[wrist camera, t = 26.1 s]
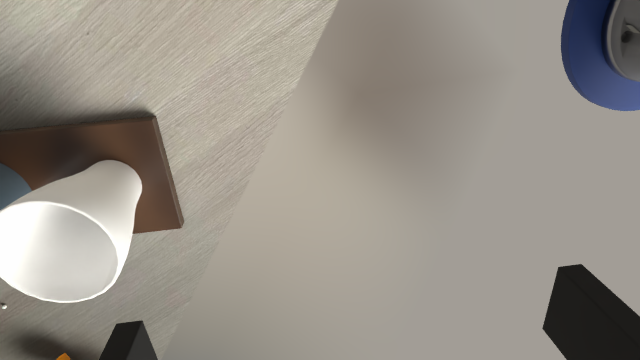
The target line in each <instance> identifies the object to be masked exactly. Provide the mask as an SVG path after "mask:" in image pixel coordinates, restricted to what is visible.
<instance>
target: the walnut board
mask: <svg viewBox="0 0 640 360" xmlns="http://www.w3.org/2000/svg"><path fill="white" fill-rule="evenodd" d="M104 160H115V161H119V162H122V163H124V164H127V165H128V166H130V167H131V168H132V169H134V170H135V172H136V173H137V174H138V175H139V178H140V180H141V183H142V192H141V195H140V197H139V200H138V202H137V204H136V209H135V216H134V227H133V233H132V234H135V233H144V232H152V231H161V230H169V229H178V228H182V226H183V223H184V219H183V216H182V212H181V208H180V204H179V201H178V197H177V193H176V189H175V186H174V182H173V178H172V175H171V171H170V167H169V163H168V160H167V156H166V152H165V148H164V145H163V141H162V137H161V133H160V130H159V126H158V122H157V119H156V116H152V117H141V118H131V119H120V120H110V121H99V122H89V123H79V124H68V125H58V126H47V127H37V128H26V129H16V130H5V131H0V163H2V164H4V165H6V166H8V167H9V168H11V169H12V170H14V171H15V172H17V173H18V174H19V175H20V176H21V177H22V178H23V179H24V180H25V181H26V182H27V183H28V185H29V186H30V188H31V190H32V191H34V190H36V189H38V188H41V187H43V186H45V185H47V184H49V183H52V182H54V181H56V180H60V179H63V178H66V177H69V176H73V175H75V174H77V173H80V172H82V171H84V170H86V169H88V168H89V167H91V166H92V165H94V164H96V163H97V162H100V161H104Z"/></svg>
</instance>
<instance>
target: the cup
mask: <svg viewBox="0 0 640 360" xmlns="http://www.w3.org/2000/svg"><path fill="white" fill-rule="evenodd" d="M141 192H142V183H141V180H140V178H139V175H138V174H137V173H136V172H135V170H134V169H132V168H131V167H130V166H128V165H127V164H124V163H122V162H119V161H115V160H104V161H100V162H97V163H96V164H94V165H92V166H91V167H89V168H88V169H86V170H84V171H82V172H80V173H77V174H75V175H73V176H69V177H66V178H63V179H60V180H56V181H54V182H52V183H49V184H47V185H45V186H43V187H41V188H38V189H36V190H34V191H32V192H30V193H28V194H26V195H24V196H22V197H21V198H19V199H17V200H16V201H14V202H12V203H11V204H9V205H8V206H6V207H5V208H3V209H2V210H0V277H1V278H2V279H3V280H5V281H6V282H7V283H8V284H9V285H11V286H12V287H14V288H16V289H17V290H19V291H21V292H23V293H25V294H27V295H30V296H33V297H36V298H39V299H42V300H46V301H53V302H60V303H62V302H79V301H83V300H87V299H91V298H94V297H96V296H98V295H100V294H102V293H104V292H105V291H106V290H107V289H109V288H110V287H111V286H112V285H113V284H114V283H115V281H116V279H117V277H118V276H119V274H120V272H121V270H122V267H123V265H124V262H125V260H126V258H127V255H128V251H129V247H130V242H131V238H132V233H133V227H134V216H135V209H136V204H137V202H138V200H139V197H140V195H141Z"/></svg>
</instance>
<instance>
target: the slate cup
mask: <svg viewBox="0 0 640 360" xmlns="http://www.w3.org/2000/svg"><path fill="white" fill-rule="evenodd" d="M30 192H32V190H31V188H30V186H29V185H28V183H27V182H26V181H25V180H24V179H23V178H22V177H21V176H20V175H19V174H18V173H17V172H15V171H14V170H12V169H11V168H9V167H8V166H6V165H4V164H2V163H0V210H2V209H3V208H5V207H6V206H8V205H9V204H11V203H12V202H14V201H16V200H17V199H19V198H21V197H22V196H24V195H26V194H28V193H30Z"/></svg>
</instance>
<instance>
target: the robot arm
mask: <svg viewBox="0 0 640 360" xmlns="http://www.w3.org/2000/svg"><path fill="white" fill-rule="evenodd" d="M601 46H602V51H603V55H604V58H605V60H606V62H607V64H608V65H609V67H610V68H611V69H612V70H613V71H614V72H615V73H616V74H618V75H619V76H621V77H623V78H626V79H629V80H633V81H637V82H640V0H610V2H609V4H608V7H607V9H606V12H605V15H604V19H603V24H602V30H601ZM543 330H544V331H545V332H546V334H547V335H548V336H549V337H550V339H551V340H552V341H553V343H554V344H555V345H556V346H557V348H558V349H559V350H560V351H561V353H562V354H563V355H564V357H565V358H566V359H567V360H640V316H638V315H637V314H636V313H635V312H634V311H633V310H632V309H631V308H629V307H628V306H627V305H626V304H625V303H624V302H623V301H622V300H621V299H620V298H618V297H617V296H616V295H615V294H614V293H613V292H612V291H611V290H610V289H608V288H607V287H606V286H605V285H604V284H603V283H602V282H601V281H600V280H598V279H597V278H596V277H595V276H594V275H593V274H592V273H591V272H590V271H588V270H587V269H586V268H585V267H584V266H583V265H582V264H579V265H571V266H563V267H558V271H557V275H556V279H555V283H554V286H553V290H552V294H551V298H550V302H549V306H548V310H547V313H546V317H545V321H544V325H543ZM99 360H158V359H157V356H156V354H155V351H154V349H153V346H152V344H151V341H150V339H149V336H148V334H147V331H146V329H145V326H144V324H143V321H134V322H126V323H118V324H116V326H115V328H114V330H113V332H112V334H111V336H110V338H109V340H108V342H107V344H106V346H105V348H104V350H103V352H102V354H101V356H100V358H99Z"/></svg>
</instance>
